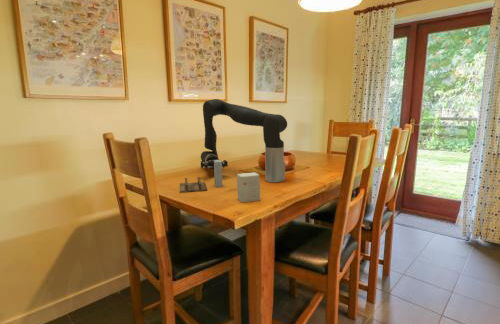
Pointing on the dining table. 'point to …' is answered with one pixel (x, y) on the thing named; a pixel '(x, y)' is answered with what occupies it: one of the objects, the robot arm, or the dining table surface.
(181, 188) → the rack
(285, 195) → the dining table surface
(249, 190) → the small box
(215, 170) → the grey rectangular block
